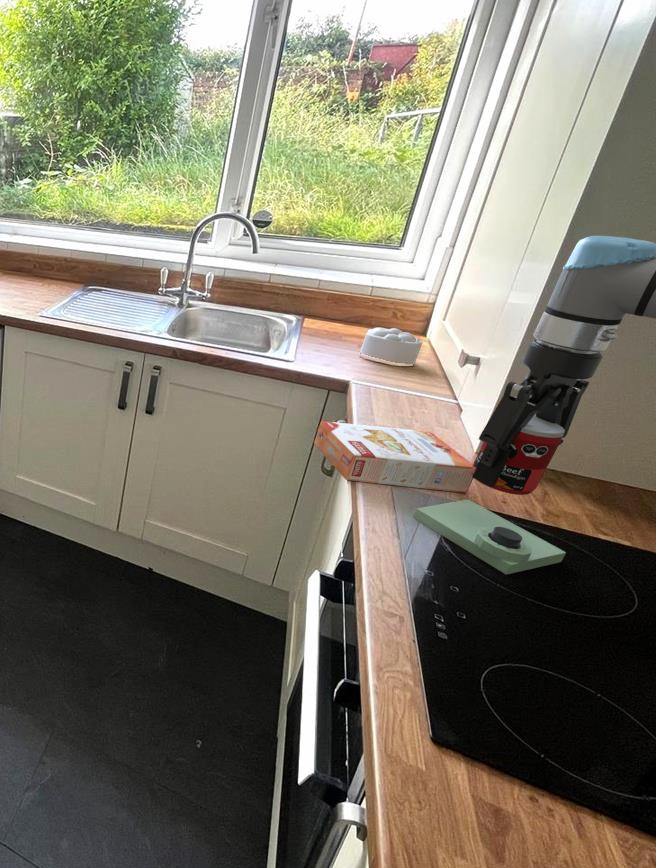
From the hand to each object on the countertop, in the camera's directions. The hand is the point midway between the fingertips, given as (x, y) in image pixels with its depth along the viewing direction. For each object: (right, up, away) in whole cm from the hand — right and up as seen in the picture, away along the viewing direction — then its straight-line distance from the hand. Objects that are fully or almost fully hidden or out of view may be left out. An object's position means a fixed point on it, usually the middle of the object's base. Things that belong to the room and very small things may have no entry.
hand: (502, 478), depth 93 cm
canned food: (0, -1, 0) cm, 1 cm away
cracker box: (+8, 0, +18) cm, 20 cm away
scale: (-2, -10, +1) cm, 10 cm away
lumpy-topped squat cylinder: (+41, +19, +77) cm, 90 cm away
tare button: (-4, -9, -4) cm, 11 cm away
